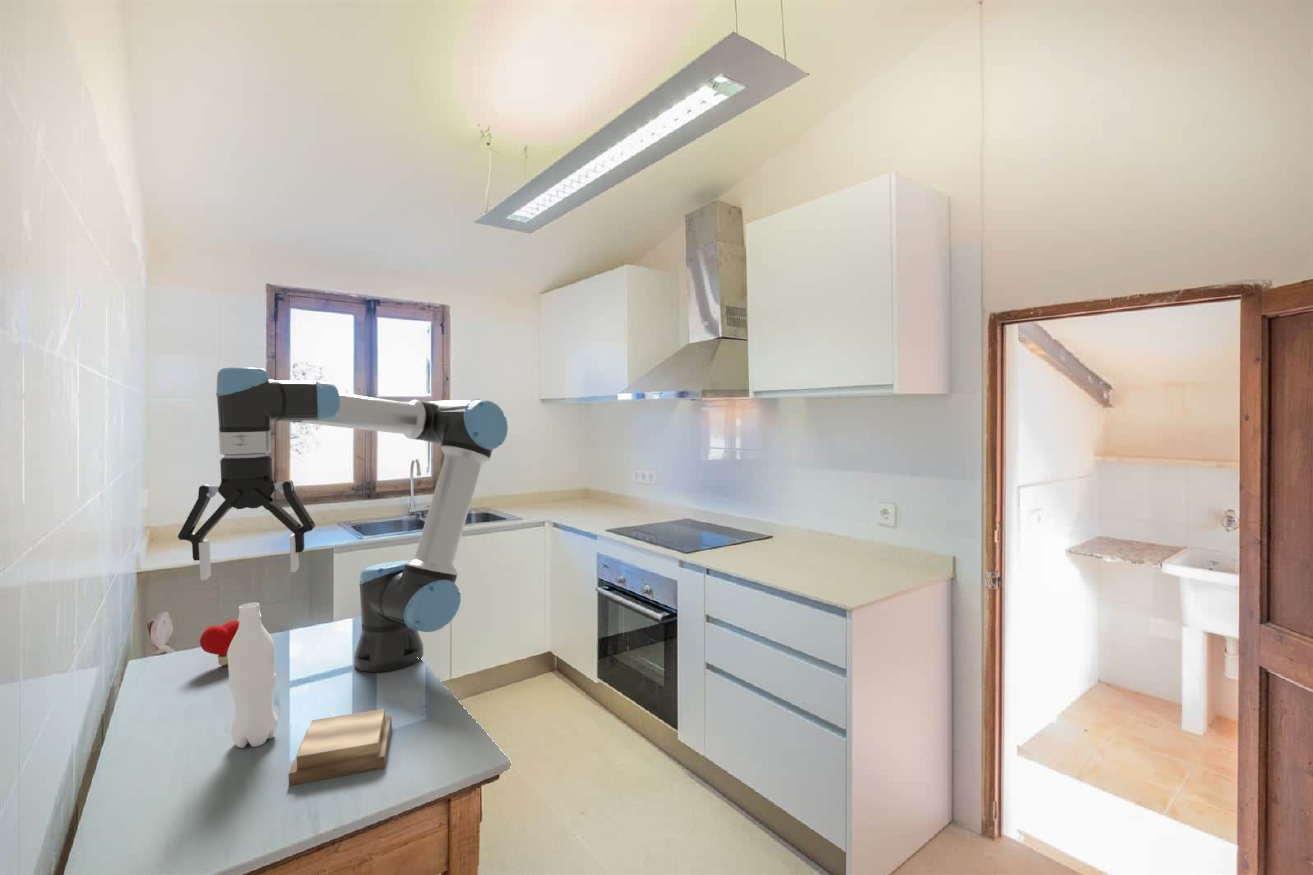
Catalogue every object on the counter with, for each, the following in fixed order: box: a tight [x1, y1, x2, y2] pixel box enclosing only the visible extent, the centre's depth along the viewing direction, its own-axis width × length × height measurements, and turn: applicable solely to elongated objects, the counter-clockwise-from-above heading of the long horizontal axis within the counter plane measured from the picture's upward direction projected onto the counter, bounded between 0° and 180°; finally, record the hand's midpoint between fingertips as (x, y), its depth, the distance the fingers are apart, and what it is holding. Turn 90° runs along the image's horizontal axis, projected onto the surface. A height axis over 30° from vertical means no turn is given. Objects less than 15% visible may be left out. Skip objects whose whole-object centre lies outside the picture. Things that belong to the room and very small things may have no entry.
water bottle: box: [227, 602, 279, 749], centre depth 109 cm, size 7×7×25 cm
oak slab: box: [296, 708, 386, 769], centre depth 105 cm, size 12×12×2 cm
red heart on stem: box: [199, 620, 239, 667], centre depth 141 cm, size 9×7×10 cm
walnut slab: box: [288, 715, 393, 786], centre depth 105 cm, size 14×14×2 cm
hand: (251, 574), depth 108 cm, fingers open, 13 cm apart
